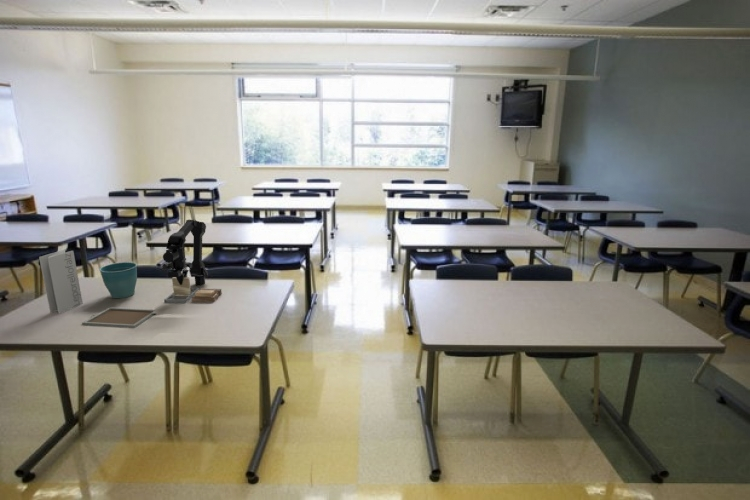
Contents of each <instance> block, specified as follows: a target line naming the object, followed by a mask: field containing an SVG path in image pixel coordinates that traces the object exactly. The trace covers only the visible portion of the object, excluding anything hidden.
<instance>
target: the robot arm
mask: <svg viewBox="0 0 750 500" xmlns="http://www.w3.org/2000/svg"><path fill="white" fill-rule="evenodd" d="M206 229H207V225H206V223H205V222H204V221H198V220H196V219H186V220H185V223H184V224H183V225H182V226H181V227H180V229H179V230H178V231H176V232H174V233H172V234H170V235H169V237H168V238H167V239H168V240H167V244H166V250H165V252H164V253H163V254H162V259H163V261H164V262H165V263H163V264H162V266H161V267H162V270H164V271H165V272H167V273H166V277H167V278H173V277H176V278H177V280H178V282H179V284H180V285H182V283H183V278H184V277H187V275H188V272H189V274H190V275H189V276H190V278H194V283H195V286H202V285H206V284H205V283H206V278H208V276H209V270H207V269H206V265H205V263H204V262H203V236H204V235H205V233H206ZM190 233H191V235H192V236H193V241H192V242H193V244H192V245H193V247H192V249H193V254H192V255H193V256H192V261H191V262H187V261H186V260H187V258H186V257H185V252H184V248H186V246H185V243H186V241H187V240H186V238H187V236H189V234H190ZM187 268H189V270H188V269H187ZM170 269H171V270H170ZM168 270H169V271H168Z"/></svg>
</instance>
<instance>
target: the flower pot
mask: <svg viewBox="0 0 750 500" xmlns="http://www.w3.org/2000/svg"><path fill="white" fill-rule="evenodd" d="M137 266H138V264H137V263H135V262H129V261H128V262H127V261H125V262H115V263H110V264H107V265H104V266H102V267H100V268H99V271H100V275H101V277H102V281H103V283H104V286H105V288H106V289H107V291H108V293H109V295H110V297H111V298H113V299H123V298H129V297H131V296H133V295H135V292H136V291H135V290H136V286H137V281H138V272H137V270H138V269H137Z"/></svg>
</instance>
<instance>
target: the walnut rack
mask: <svg viewBox="0 0 750 500" xmlns="http://www.w3.org/2000/svg"><path fill="white" fill-rule="evenodd" d="M200 290H208V291H214V293H215V295H214V296H213V297H196V296H195V295H193V296H192V298H191V301H192V302H194V303H195V302H200V303H201V302H208V303H211V302H212V303H215V302H216V301H217V300H218V298H220V297H221V296H222V288H200Z"/></svg>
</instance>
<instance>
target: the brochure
mask: <svg viewBox="0 0 750 500" xmlns="http://www.w3.org/2000/svg"><path fill="white" fill-rule="evenodd" d="M38 258H39V264H40V268H41V273H42V278H43V279H42V280H43V284H44V288H45V294H46V299H47V304H48V308H49V313H50V314H51V313H55V312H56V311H57V312H58V314H59V315H61V314H62V313H65V312H67V311H69V310H72V309H74V308H76V307H79V306H82V305H83V297H82V291H81V286H80V280H79V275H78V270H77V263H76V259H75V252H74V250H70V251H67V252H66V249H63V250H58V251H56V252H52V253H48V254H45V255H42V256H39V257H38Z"/></svg>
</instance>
